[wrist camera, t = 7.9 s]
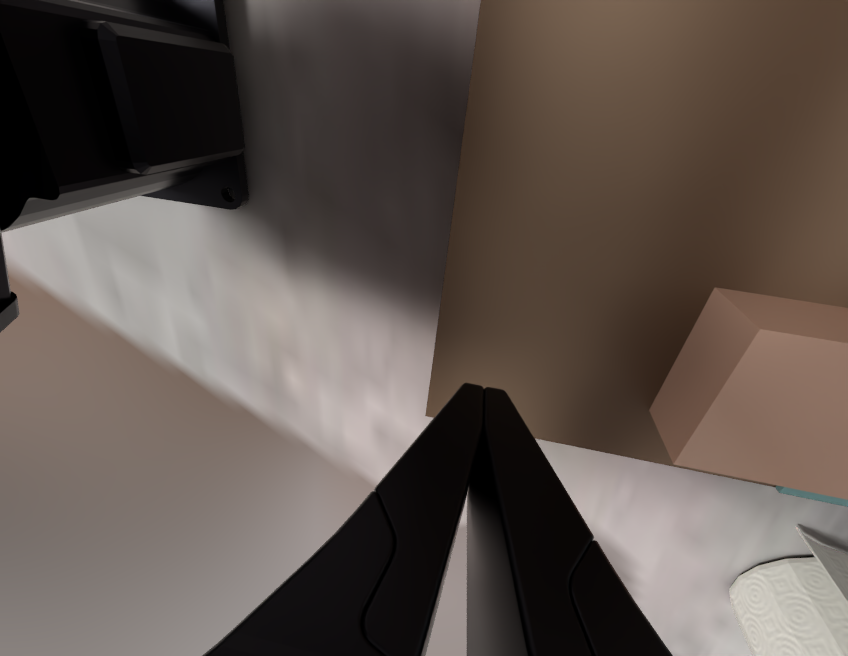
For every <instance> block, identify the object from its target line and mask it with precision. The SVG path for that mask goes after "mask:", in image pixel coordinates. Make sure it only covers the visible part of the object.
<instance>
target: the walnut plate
mask: <svg viewBox="0 0 848 656" xmlns="http://www.w3.org/2000/svg"><path fill="white" fill-rule="evenodd" d="M715 287H716V288H723V289H729V290H735V291H742V292H748V293H755V294H761V295H768V296H774V297H780V298H787V299H793V300H800V301H806V302H813V303H819V304H826V305H832V306H838V307H845V308H848V0H481V4H480V12H479V19H478V27H477V34H476V42H475V49H474V57H473V64H472V72H471V79H470V87H469V94H468V102H467V109H466V117H465V124H464V132H463V139H462V147H461V154H460V162H459V169H458V177H457V184H456V192H455V199H454V207H453V214H452V222H451V229H450V237H449V244H448V252H447V259H446V267H445V274H444V282H443V289H442V297H441V304H440V312H439V319H438V327H437V334H436V342H435V349H434V357H433V364H432V372H431V379H430V387H429V394H428V402H427V409H426V416H428V417H433V418H434V417H435V416H436V415H437V414H438V413H439V411H440V410H441V409H442V408H443V407H444V406H445V404H446V403H447V402H448V401H449V400H450V398H451V397H452V396H453V395H454V394H455V393H456V391H457V390H458V389H459V388H460V387H461V385H462V384H464V383H471V384H476V385H481V386H483V388H484V389H485V387H492V388H498V389H503V390H505V391H506V392H507V394H508V396H509V397H510V399H511V401H512V402H513V404H514V405H515V407H516V409H517V410H518V412H519V414H520V415H521V417H522V419H523V420H524V422H525V424H526V425H527V427H528V429H529V430H530V432H531V434H532V435H533V437H534V438H537V439H541V440H546V441H551V442H556V443H561V444H566V445H571V446H576V447H581V448H586V449H591V450H595V451H600V452H605V453H610V454H615V455H620V456H625V457H630V458H635V459H640V460H645V461H649V462H654V463H659V464H664V465H669V466H674V467H679V468H684V469H689V470H694V471H699V472H704V473H708V474H713V475H718V476H723V477H728V478H733V479H738V480H743V481H748V482H753V483H758V484H762V485H767V486H772V487H776V486H777V485H772V484H768V483H763V482H758V481H753V480H748V479H743V478H738V477H733V476H728V475H723V474H718V473H713V472H708V471H704V470H699V469H694V468H689V467H684V466H679V465H674V464H673V462H672V460H671V458H670V456H669V454H668V451H667V449H666V447H665V445H664V442H663V440H662V438H661V436H660V434H659V431H658V429H657V427H656V425H655V422H654V420H653V418H652V416H651V414H650V411H649V409H650V407H651V406H652V404H653V402H654V400H655V398H656V396H657V394H658V392H659V391H660V389H661V387H662V385H663V383H664V381H665V379H666V378H667V376H668V374H669V372H670V370H671V368H672V366H673V364H674V363H675V361H676V359H677V357H678V355H679V353H680V351H681V349H682V348H683V346H684V344H685V342H686V340H687V338H688V336H689V334H690V333H691V331H692V329H693V327H694V325H695V323H696V321H697V320H698V318H699V316H700V314H701V312H702V310H703V308H704V306H705V305H706V303H707V301H708V299H709V297H710V295H711V293H712V291H713V290H714V288H715Z"/></svg>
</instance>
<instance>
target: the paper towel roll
mask: <svg viewBox="0 0 848 656" xmlns="http://www.w3.org/2000/svg"><path fill="white" fill-rule="evenodd" d="M795 528H796V529H797V531H798V532H799V534H800V535H801V537H802V538H803V540H804V541H805V543H806V544H807V546H808V547H809V549H810V550H811V552H812V553H813V555H814V556H815V557H812V558H790V559H783V560H779V561H775V562H771V563H767V564H763V565H759V566H756V567H755V568H753V569H751V570H749V571H747V572H745V573H744V574H742V575H740V576H738V578H737V579H736V580H735V582H734V583H733V585H732V586H731V587H730V589H729V593H730V600H731V607H732V610H733V612H734V614H735V616H736V619H737V621H738V623H739V626H740V628H741V630H742V632H743V635H744V637H745V639H746V641H747V644H748V646H749V648H750V651H751V653H752V655H753V656H848V554H845V553H842V552H840V551H837V550H834V549H831V548H828V547H825V546H822V545H820V544H818V543H817V542H815V541H813V540H812V539H810V538H808V537H806V536H805V535H803V533H802V532H801V531H800V530H799V528H798V527H795Z"/></svg>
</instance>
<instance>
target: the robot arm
mask: <svg viewBox="0 0 848 656" xmlns="http://www.w3.org/2000/svg"><path fill="white" fill-rule="evenodd" d="M244 148H245V143H244V135H243V127H242V120H241V112H240V104H239V97H238V89H237V82H236V74H235V66H234V59H233V55H232V53H231V52H230V50H229V42H228V35H227V27H226V20H225V12H224V5H223V0H0V332H1V331H2V330H4V329H5V328H6V327H7V326H8V325H9V324H10V323H11V322H12V321H13V320H14V319H16V318H17V317H18V315H19V308H18V301H17V296H16V294H15V293H13V292H11V291H10V285H9V278H8V272H7V265H6V259H5V252H4V246H3V240H2V232H5V231H9V230H13V229H17V228H20V227H24V226H28V225H32V224H35V223H39V222H43V221H47V220H50V219H54V218H58V217H62V216H65V215H69V214H73V213H76V212H80V211H84V210H88V209H91V208H95V207H99V206H103V205H106V204H110V203H114V202H118V201H121V200H125V199H129V198H133V197H136V196H146V197H153V198H159V199H166V200H172V201H179V202H185V203H192V204H198V205H205V206H211V207H217V208H224V209H230V210H231V209H237V208H240V207H242V206H244V205H245V204H247V202H248V200H249V191H248V184H247V176H246V169H245V161H244V154H243V149H244ZM229 188H231V189H232V190H233V191H234V193H235V199H234V198H232V197H231V196H230V194H229V192H228V189H229ZM467 492H468V495H467ZM466 496H467V656H673V655H672V654H671V653H670V651H669V650H668V648H667V647H666V646H665V644H664V643H663V641H662V640H661V639H660V637H659V636H658V634H657V633H656V631H655V630H654V628H653V627H652V626H651V624H650V623H649V621H648V620H647V618H646V617H645V616H644V614H643V613H642V611H641V610H640V608H639V607H638V606H637V604H636V603H635V601H634V600H633V598H632V597H631V595H630V593H629V592H628V590H627V589H626V587H625V586H624V584H623V582H622V581H621V579H620V578H619V576H618V575H617V573H616V572H615V570H614V568H613V567H612V565H611V564H610V562H609V560H608V559H607V557H606V555H605V554H604V552H603V550H602V549H601V547H600V545H599V544H598V542H597V541H595V540H594V541H593V539H594V536H593V534H592V533H591V531H590V529H589V528H588V526H587V524H586V523H585V521H584V519H583V518H582V516H581V514H580V513H579V511H578V509H577V508H576V506H575V504H574V503H573V501H572V500H571V498H570V496H569V495H568V493H567V491H566V490H565V488H564V486H563V485H562V483H561V481H560V480H559V478H558V476H557V475H556V473H555V471H554V470H553V468H552V467H551V465H550V463H549V462H548V460H547V458H546V457H545V455H544V453H543V452H542V450H541V448H540V447H539V445H538V443H537V442H536V440H535V438H534V437H533V435H532V434H531V432H530V430H529V429H528V427H527V425H526V424H525V422H524V420H523V419H522V417H521V415H520V414H519V412H518V410H517V409H516V407H515V405H514V404H513V402H512V401H511V399H510V397H509V396H508V394H507V392H506V391H505V390H503V389H498V388H492V387H485V389H484V388H483V386H481V385H476V384H471V383H464V384H462V385H461V387H460V388H459V389H458V390H457V391H456V393H455V394H454V395H453V396H452V397H451V398H450V400H449V401H448V402H447V403H446V404H445V406H444V407H443V408H442V409H441V410H440V411H439V413H438V414H437V415H436V416H435V417H434V419H433V420H432V421H431V422H430V423H429V425H428V426H427V427H426V428H425V429H424V430H423V432H422V433H421V434H420V435H419V436H418V438H417V439H416V440H415V441H414V442H413V444H412V445H411V446H410V447H409V448H408V449H407V451H406V452H405V453H404V454H403V455H402V457H401V458H400V459H399V460H398V461H397V462H396V464H395V465H394V466H393V467H392V468H391V470H390V471H389V472H388V473H387V474H386V476H385V477H384V478H383V479H382V480H381V481H380V483H379V484H378V485H377V486H376V487H375V490H374V491H373V492H371V493H370V494H369V495H368V497H367V498H366V499H365V500H364V501H363V503H362V504H361V505H360V506H359V507H358V508H357V510H356V511H355V512H354V513H353V514H352V515H351V516H350V517H349V518H348V520H347V521H346V522H345V523H344V524H343V525H342V526H341V527H340V528H339V529H338V531H337V532H336V533H335V534H334V535H333V536H332V537H331V538H330V539H329V540H328V541H326V542H325V543H324V544H323V545H322V546H321V547H320V548H319V549H318V550H317V551H316V552H315V553H314V554H313V555H312V556H311V557H310V558H309V559H308V560H307V561H306V562H305V563H304V564H303V565H302V566H301V567H300V568H299V569H297V571H295V572H294V573H293V574H292V575H291V576H290V577H289V578H288V579H287V580H286V581H284V582H283V583H282V584H281V585H280V586H279V587H278V588H277V589H276V590H275V591H274V592H273V593H272V594H271V595H269V596H268V597H267V598H266V599H265V600H264V601H263V602H262V603H261V604H260V605H259V606H258V607H257V608H255V609H254V610H253V611H252V612H251V613H250V614H249V615H248V616H247V617H246V618H245V619H244V620H243V621H241V622H240V623H239V624H238V625H237V626H236V627H235V628H234V629H233V630H232V631H231V632H229V633H228V634H227V635H226V636H225V637H224V638H223V639H222V640H221V641H219V642H218V643H217V644H216V645H215V646H214V647H213V648H211V649H210V650H209V651H207V652H206V653H205V654H204V655H203V656H425V655H426V651H427V647H428V643H429V639H430V635H431V632H432V628H433V624H434V620H435V616H436V612H437V608H438V604H439V601H440V597H441V593H442V589H443V585H444V581H445V577H446V573H447V570H448V566H449V562H450V558H451V554H452V550H453V547H454V543H455V539H456V535H457V531H458V527H459V523H460V520H461V516H462V512H463V508H464V504H465V500H466Z"/></svg>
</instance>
